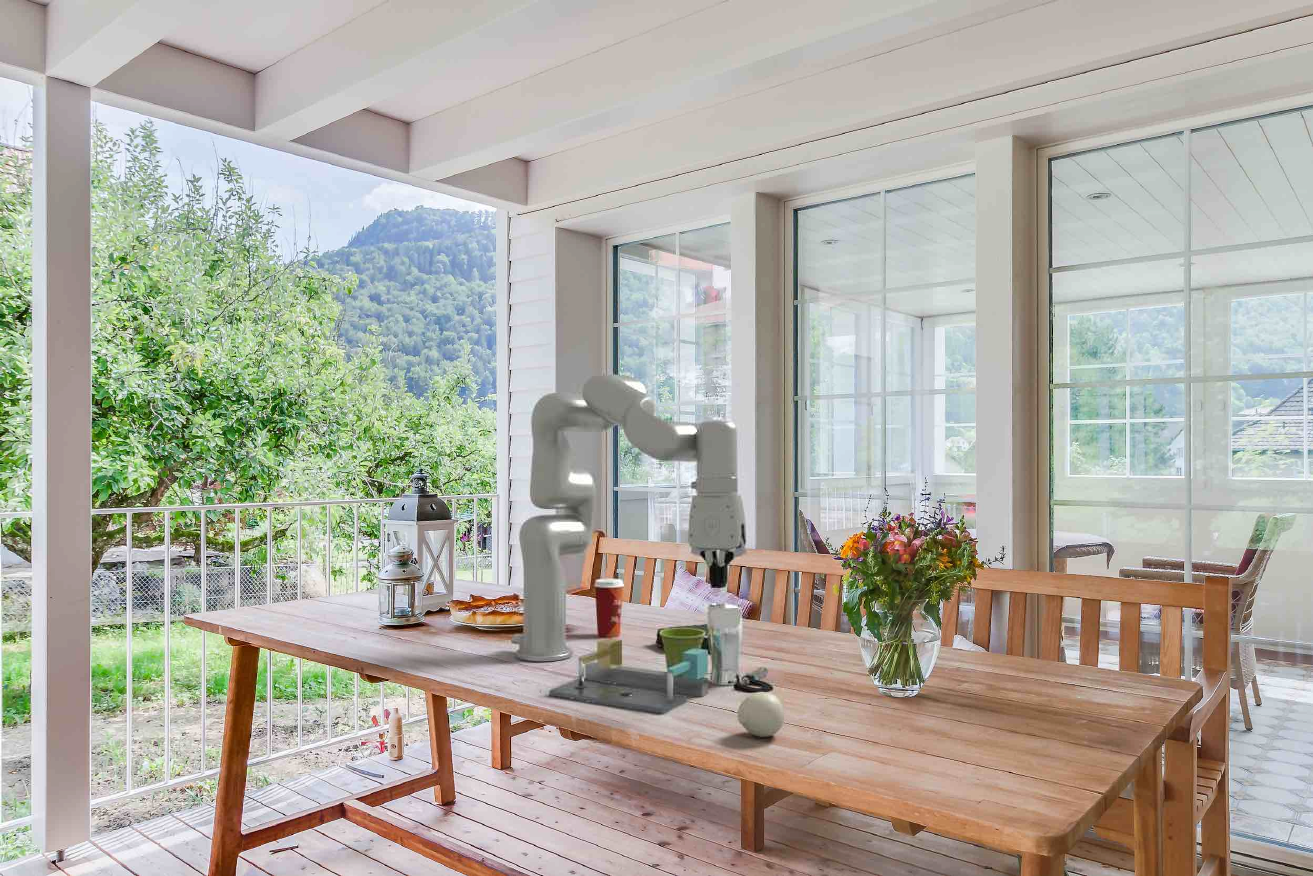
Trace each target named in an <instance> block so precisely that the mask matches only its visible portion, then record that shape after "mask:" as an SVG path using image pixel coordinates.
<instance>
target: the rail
mask: <svg viewBox="0 0 1313 876" xmlns="http://www.w3.org/2000/svg"><path fill="white" fill-rule="evenodd" d="M584 673H585V674H584V680H585V679H588V680H587V681H591V680H595V681H594V682H598V681H601V682H600V683H605V682H609V683H608V684H611V683H616V684H615V685H618V684H620V685H619V686H625V685H626V686H625V687H631V688H639V687H640V688H639V689H644V690H651V691H659V690H660V691H659V692H665V693H667V671H662V670H661V671H660V670H654V669H652V670H651V669H645V668H638V667H632V666H631V667H630V666H624V665H620V666H617V667H615V668H612V669H604V668H597V662H596V661H592V662H589V663H586V664H584ZM679 693H680V694H679ZM673 694H679V695H685V696H687V695H688V696H692V697H693V696H695V697H699V696H700V697H701V698H703V697H705V696H706V695H709V678H708V677H706V676H704V677H702V678H700V679H698V680H696V679H689V678H683V674H678V675H676V676H673Z"/></svg>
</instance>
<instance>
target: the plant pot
mask: <svg viewBox="0 0 1313 876" xmlns="http://www.w3.org/2000/svg"><path fill="white" fill-rule="evenodd" d="M659 634H660V635H661V637H662V642H663V644H664V648H663V649H664V650H663V651H664V657H665V663H666V670H667V669H668V668H671V667H673V666H675V665H678V664H680V663H682V662H683V653H684V652H686V651H688V650H691V649H693V648H694V649H701V643H702V642H703V636H704V635H705V631H703V630H699V629H692V628H672V629H666V630H662V631H660V632H659ZM680 674H683V672H682V673H680Z"/></svg>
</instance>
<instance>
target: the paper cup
mask: <svg viewBox="0 0 1313 876" xmlns="http://www.w3.org/2000/svg"><path fill="white" fill-rule="evenodd" d="M594 583H595V584H594V585H593V586H594V589H595V590H594V593H595V594H594V595H595V608H596V609H595V611H596V627H597V628H596V629H597V637H598V636H599V638H602V637H605V638H604V639H613V638H612V637H615V638H619V637H620V636H619V635H621V628H622V627H621V624H622V609H623V607H622V606H623V592H624V586H625V584H624V583H623V580H622V579H620V578H600V579H599V578H598V579H596V580H595V581H594ZM618 636H619V637H618Z"/></svg>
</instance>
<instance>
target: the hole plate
mask: <svg viewBox="0 0 1313 876" xmlns="http://www.w3.org/2000/svg"><path fill="white" fill-rule="evenodd" d="M549 695H552V696H551V697H554V696H558V697H557V698H560V697H566V698H573V699H576V700H575V701H578V700H583V701H582V702H584V701H589V702H588V703H591V702H595V703H594V704H597V703H600V704H599V705H603V704H608V705H607V706H609V705H613V706H612V707H615V706H619V707H618V708H621V707H624V708H623V709H627V708H631V709H630V710H634V711H635V710H636V711H641V712H646V711H647V712H646V713H654V714H658V713H660V714H659V715H664V714H666V713H668V712H670V711H672V710H673V708H674V709H675V707H676V708H678V707H679V705H680V706H681V704H682V705H683V704H685V703H687V702H688V696H687V695H683V694H677V693H673V699H672V700H668V699H667V692H663V691H657V690H650V689H643V688H636V687H630V686H623V685H616V684H609V683H603V682H596V681H589V680H584V686H578V679H576V680H573V681H570V682H568V683H565V684H562V685H560V686H557V687H555V688H552V689H549ZM566 698H565V699H566ZM677 706H678V707H677Z"/></svg>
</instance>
